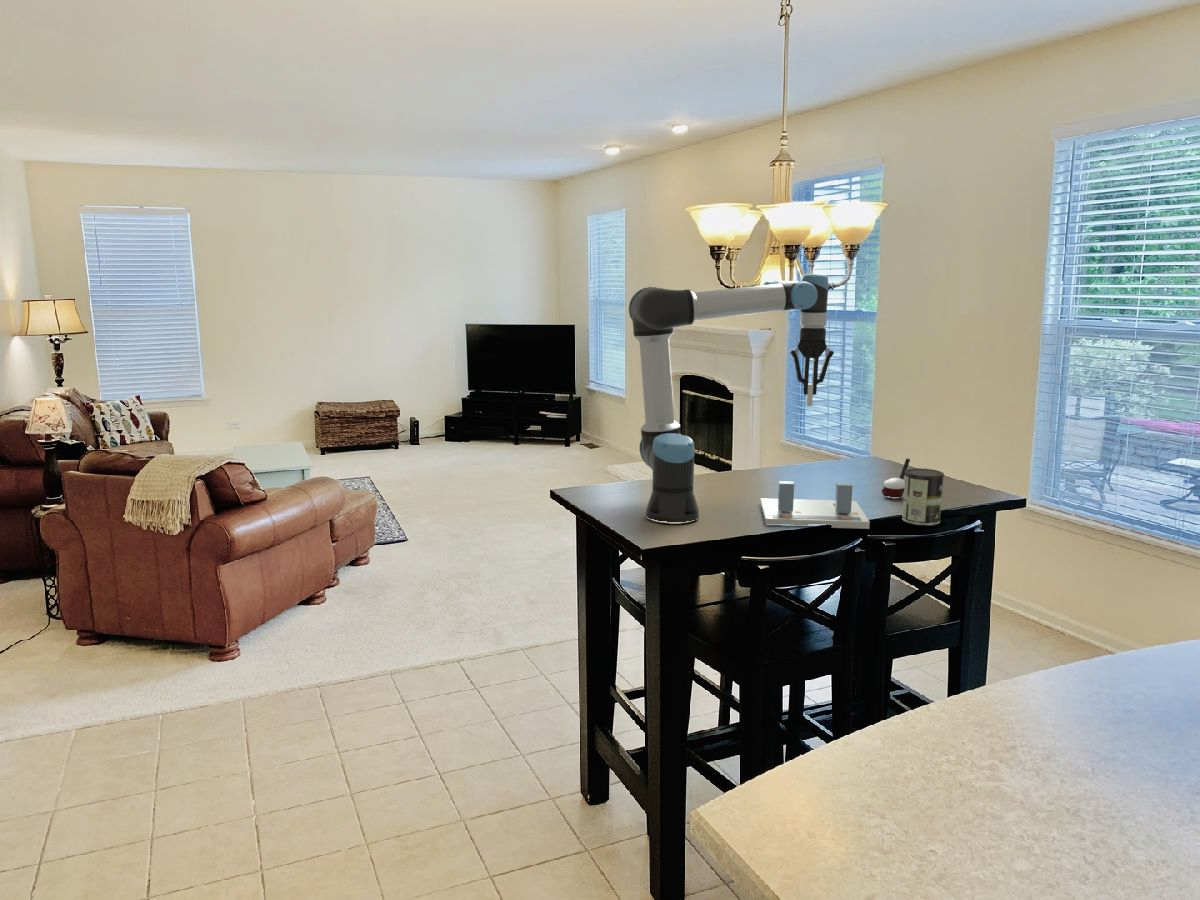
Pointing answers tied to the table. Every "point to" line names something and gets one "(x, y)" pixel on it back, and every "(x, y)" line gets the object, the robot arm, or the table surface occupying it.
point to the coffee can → (922, 496)
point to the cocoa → (895, 484)
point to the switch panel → (814, 514)
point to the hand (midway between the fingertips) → (809, 405)
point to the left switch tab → (785, 496)
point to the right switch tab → (843, 497)
